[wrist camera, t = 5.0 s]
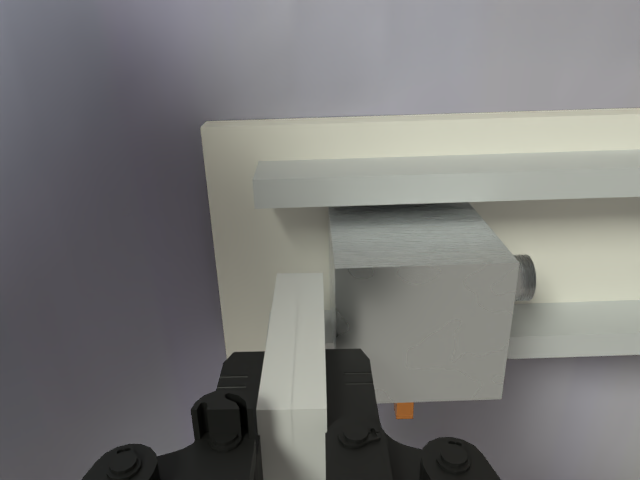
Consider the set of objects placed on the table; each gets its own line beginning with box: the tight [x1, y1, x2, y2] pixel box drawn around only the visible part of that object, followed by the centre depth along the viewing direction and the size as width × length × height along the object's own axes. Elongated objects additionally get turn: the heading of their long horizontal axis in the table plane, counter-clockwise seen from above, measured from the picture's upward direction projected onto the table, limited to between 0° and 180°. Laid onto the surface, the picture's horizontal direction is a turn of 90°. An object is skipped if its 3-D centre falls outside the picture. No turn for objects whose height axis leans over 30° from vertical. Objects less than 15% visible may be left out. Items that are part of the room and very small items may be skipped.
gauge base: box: [200, 108, 640, 359], centre depth 18 cm, size 24×10×8 cm, turn 92°
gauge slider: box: [328, 202, 536, 419], centre depth 19 cm, size 7×7×6 cm
